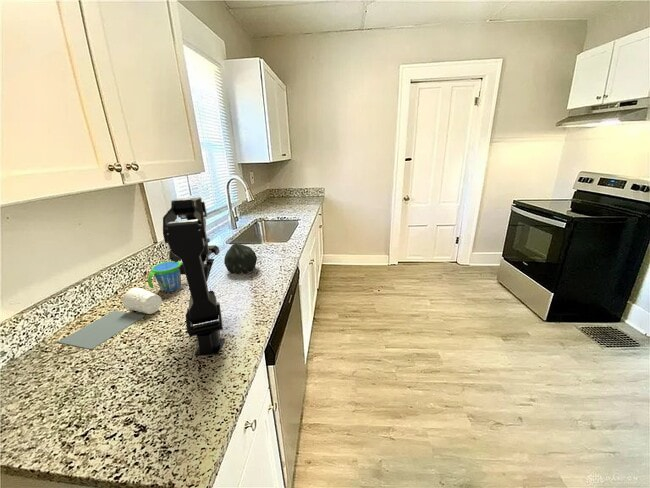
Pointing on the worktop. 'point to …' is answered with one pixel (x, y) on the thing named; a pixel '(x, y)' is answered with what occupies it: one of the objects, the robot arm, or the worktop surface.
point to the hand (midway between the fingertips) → (205, 282)
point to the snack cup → (166, 275)
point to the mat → (101, 329)
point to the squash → (240, 259)
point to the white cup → (141, 301)
